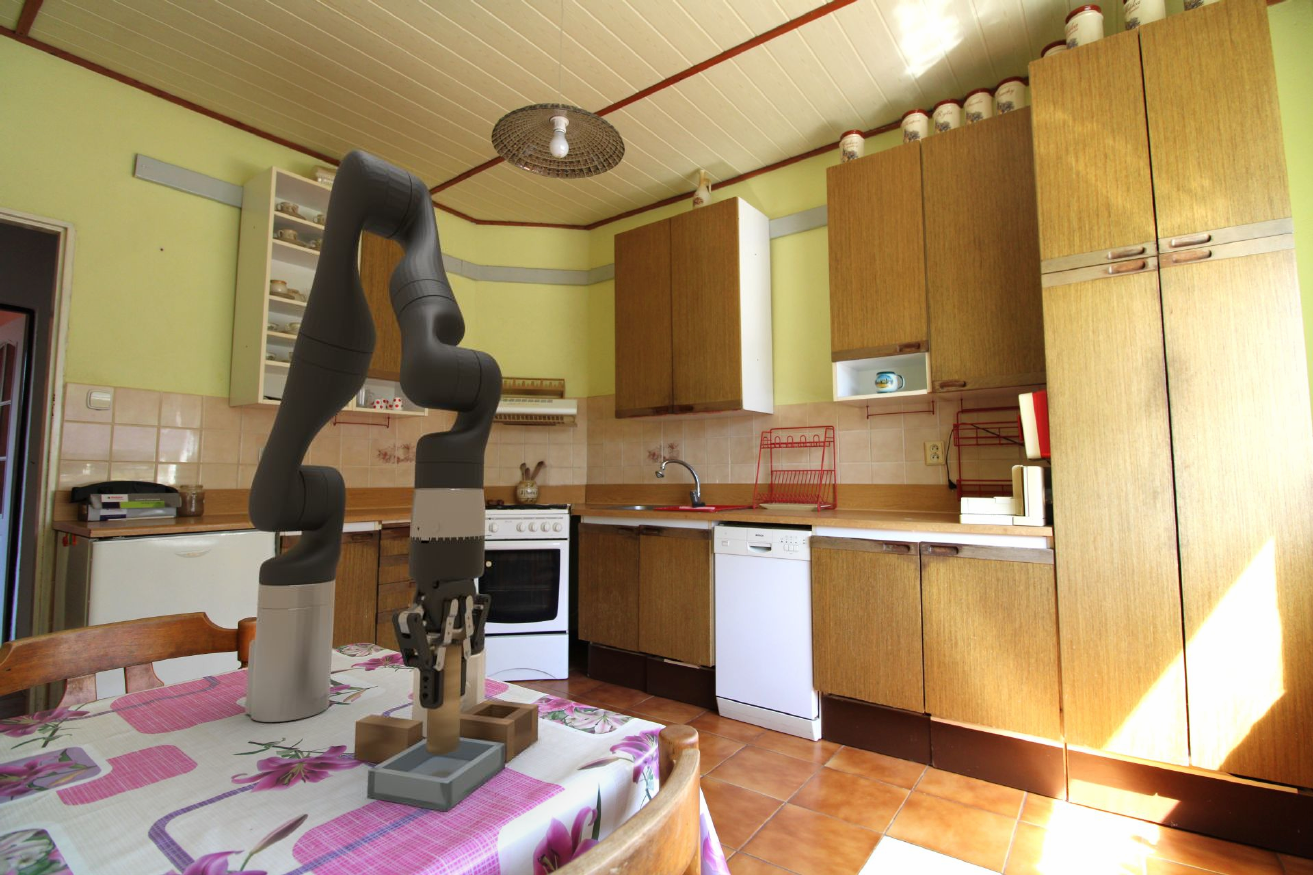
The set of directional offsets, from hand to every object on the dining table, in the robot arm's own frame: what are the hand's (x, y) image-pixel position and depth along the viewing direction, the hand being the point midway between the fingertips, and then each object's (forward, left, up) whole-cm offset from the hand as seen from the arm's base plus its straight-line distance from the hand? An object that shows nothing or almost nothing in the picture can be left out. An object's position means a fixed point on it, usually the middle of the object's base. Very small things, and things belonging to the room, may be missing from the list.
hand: (443, 700), depth 65 cm
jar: (-9, +13, -8) cm, 18 cm away
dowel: (0, 0, -5) cm, 5 cm away
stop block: (-9, +3, -8) cm, 12 cm away
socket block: (0, +10, -8) cm, 13 cm away
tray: (0, 0, -8) cm, 8 cm away
